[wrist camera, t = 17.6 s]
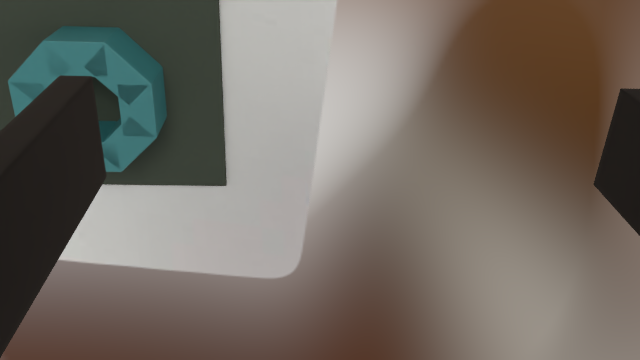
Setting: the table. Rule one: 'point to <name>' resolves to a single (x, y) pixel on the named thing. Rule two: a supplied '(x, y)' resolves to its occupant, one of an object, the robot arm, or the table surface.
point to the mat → (178, 70)
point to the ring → (112, 71)
